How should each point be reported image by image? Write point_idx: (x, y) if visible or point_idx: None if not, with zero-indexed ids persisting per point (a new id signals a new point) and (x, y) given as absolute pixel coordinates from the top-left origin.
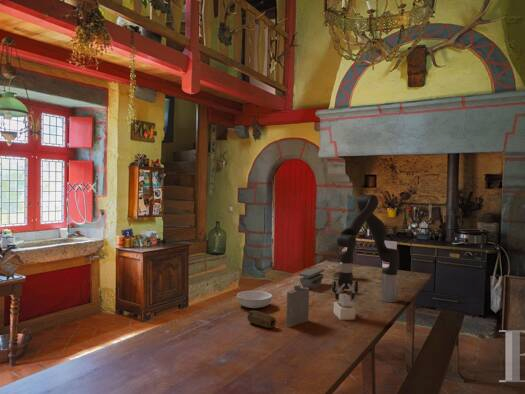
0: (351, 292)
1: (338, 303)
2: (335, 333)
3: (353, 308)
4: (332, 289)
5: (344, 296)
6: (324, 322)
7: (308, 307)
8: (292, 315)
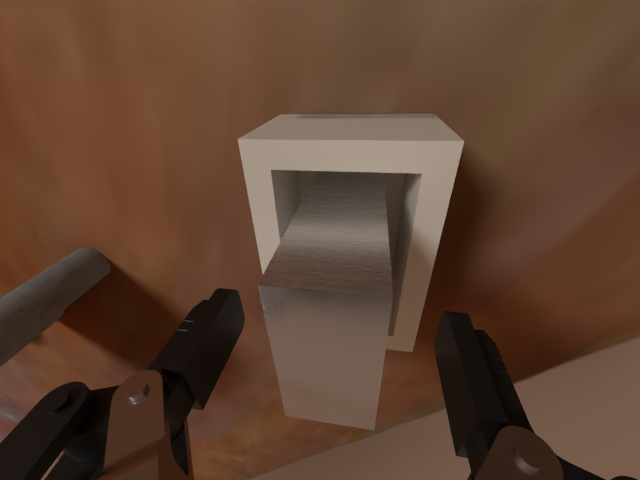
0: (486, 422)
1: (300, 167)
2: (239, 387)
3: (391, 349)
4: (38, 432)
5: (302, 401)
6: (198, 295)
7: (29, 334)
8: (7, 359)
